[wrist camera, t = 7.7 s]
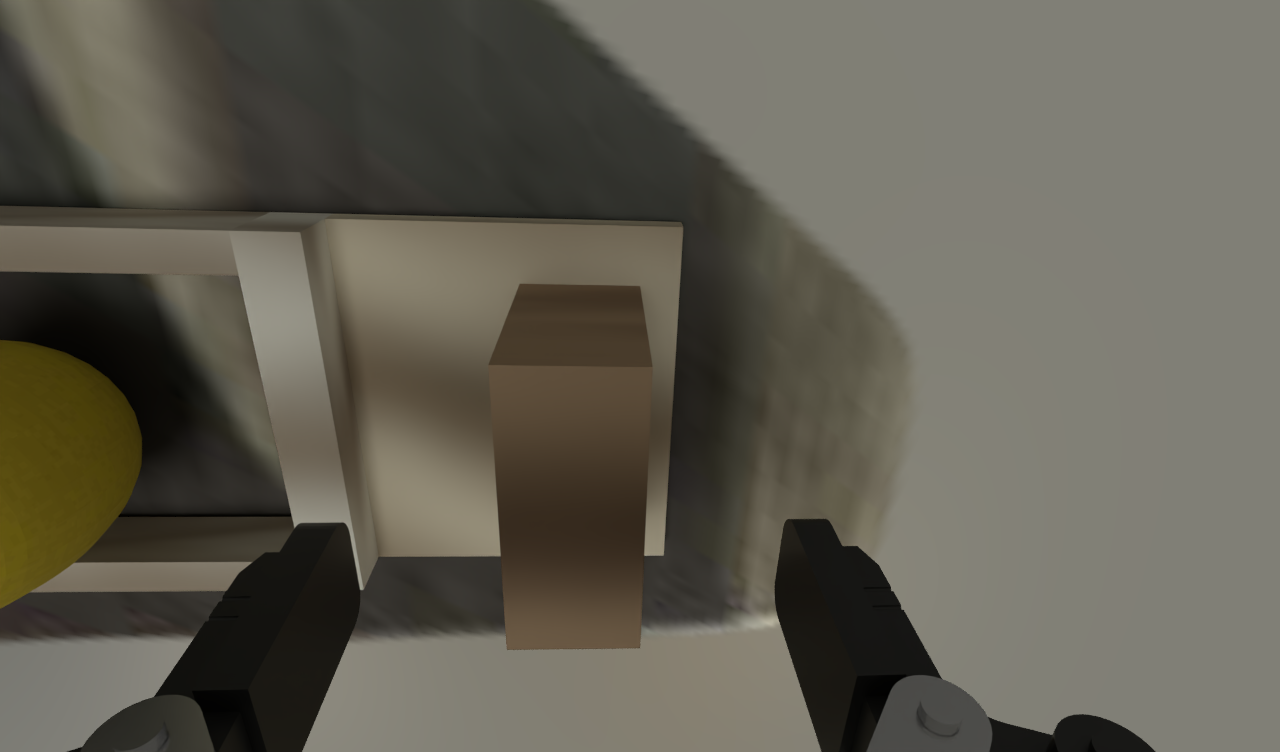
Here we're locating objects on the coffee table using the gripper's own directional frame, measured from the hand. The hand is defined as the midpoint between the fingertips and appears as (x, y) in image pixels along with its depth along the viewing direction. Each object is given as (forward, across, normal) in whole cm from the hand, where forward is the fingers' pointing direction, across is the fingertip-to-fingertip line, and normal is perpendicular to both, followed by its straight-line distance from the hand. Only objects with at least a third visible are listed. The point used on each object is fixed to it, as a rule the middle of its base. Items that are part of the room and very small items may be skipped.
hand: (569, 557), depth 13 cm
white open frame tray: (+7, +6, 0) cm, 10 cm away
